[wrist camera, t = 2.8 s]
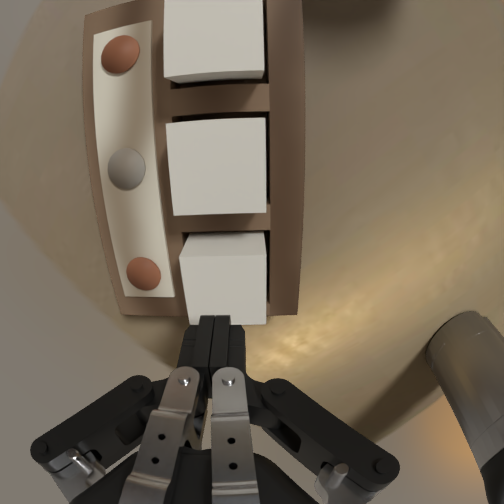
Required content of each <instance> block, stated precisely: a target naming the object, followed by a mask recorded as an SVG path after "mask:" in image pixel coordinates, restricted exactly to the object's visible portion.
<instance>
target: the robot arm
mask: <svg viewBox="0 0 504 504" xmlns="http://www.w3.org/2000/svg"><path fill="white" fill-rule="evenodd" d="M426 361H427V363H428V364H429V366H430V368H431V370H432V372H433V373H434V375H435V377H436V379H437V381H438V383H439V385H440V387H441V389H442V391H443V392H444V394H445V396H446V398H447V400H448V402H449V404H450V406H451V408H452V410H453V412H454V414H455V416H456V418H457V420H458V422H459V424H460V426H461V428H462V431H463V433H464V435H465V437H466V440H467V442H468V444H469V446H470V449H471V451H472V453H473V455H474V458H475V460H476V462H477V465H478V467H479V469H480V472H481V474H482V477H483V480H484V484H485V490H486V496H487V500H488V503H489V504H504V337H503V336H502V335H501V334H500V332H499V331H498V330H497V329H496V327H495V326H494V325H493V324H492V323H491V322H490V320H489V319H488V318H487V317H481V315H480V314H479V313H477V312H474V311H469V312H465V313H462V314H459V315H458V316H456V317H454V318H453V319H451V320H450V321H448V322H447V323H446V324H445V325H444V326H443V327H442V328H441V329H440V330H439V331H438V332H437V333H436V334H435V336H434V337H433V339H432V340H431V342H430V344H429V346H428V348H427V351H426ZM208 398H212V415H211V449H206V450H202V438H203V433H204V427H205V422H206V417H207V404H208ZM250 424H254V425H258V426H261V427H262V429H263V430H264V431H265V432H266V433H267V434H268V435H269V436H270V437H272V438H273V439H274V440H275V441H276V442H277V443H278V444H279V445H281V446H282V447H283V448H284V449H285V450H286V451H287V452H289V453H290V454H291V455H292V456H293V457H294V458H296V459H297V460H298V461H299V462H301V463H302V464H303V465H304V466H305V467H306V468H308V469H309V470H310V471H312V472H313V473H314V474H315V475H317V476H318V477H317V478H316V481H315V484H314V487H315V490H316V492H317V493H318V494H319V496H320V497H321V498H322V501H323V504H366V503H367V502H369V501H371V500H372V499H373V498H374V497H375V496H376V495H378V494H379V493H380V492H381V491H382V490H383V489H384V488H385V487H386V486H388V485H389V484H390V483H391V482H392V481H393V480H394V479H395V478H396V477H397V476H398V474H399V470H400V465H399V462H398V460H397V459H396V458H395V457H394V456H393V455H391V454H390V453H388V452H387V451H385V450H384V449H382V448H380V447H379V446H378V445H376V444H375V443H373V442H372V441H370V440H369V439H367V438H366V437H364V436H363V435H361V434H360V433H358V432H357V431H355V430H354V429H352V428H351V427H350V426H348V425H347V424H345V423H344V422H343V421H341V420H340V419H338V418H337V417H336V416H334V415H333V414H331V413H330V412H329V411H327V410H326V409H325V408H323V407H322V406H320V405H319V404H318V403H316V402H315V401H314V400H312V399H311V398H310V397H308V396H307V395H306V394H305V393H303V392H302V391H301V390H299V389H298V388H297V387H295V386H294V385H293V384H292V383H290V382H289V381H287V380H285V379H280V378H276V379H271V380H269V381H267V382H265V383H262V382H258V381H255V380H253V379H251V378H250V377H249V376H248V375H247V374H246V347H245V331H244V329H243V328H242V326H241V325H231V317H230V315H216V316H215V315H201V316H200V320H199V325H190V326H189V327H188V329H187V330H186V331H185V334H184V338H183V342H182V347H181V351H180V355H179V360H178V364H177V368H176V369H175V370H173V371H172V372H171V374H170V375H169V377H168V378H166V379H164V380H159V381H154V382H151V381H150V379H149V378H147V377H145V376H142V375H136V376H132V377H130V378H128V379H127V380H126V381H124V382H123V383H121V384H120V385H118V386H117V387H115V388H114V389H112V390H111V391H109V392H108V393H106V394H105V395H103V396H102V397H100V398H99V399H97V400H96V401H95V402H93V403H91V404H90V405H88V406H87V407H85V408H84V409H82V410H81V411H79V412H78V413H76V414H75V415H73V416H72V417H70V418H68V419H67V420H65V421H64V422H62V423H61V424H59V425H57V426H56V427H54V428H53V429H51V430H50V431H48V432H47V433H45V434H43V435H42V436H40V437H39V438H37V439H36V440H35V441H34V442H33V443H32V445H31V449H30V451H31V456H32V458H33V459H34V460H35V461H36V462H38V464H40V465H41V466H42V467H43V468H44V469H45V470H46V471H47V472H48V473H49V474H51V476H52V478H53V479H54V481H55V482H56V484H57V486H58V487H59V489H60V490H61V492H62V493H63V494H64V496H65V497H66V499H67V500H68V502H69V504H319V503H318V502H317V501H315V500H314V499H313V498H312V497H311V496H310V495H308V494H307V493H306V492H305V491H304V490H303V489H302V488H301V487H299V486H298V485H297V484H296V483H295V482H294V481H293V480H292V479H290V478H289V476H287V475H286V474H285V473H284V472H283V471H282V470H281V469H280V468H279V467H278V466H277V465H276V464H275V463H273V462H272V461H271V460H269V459H268V458H265V457H264V456H261V455H259V454H256V453H253V446H252V438H251V429H250ZM140 444H141V445H140ZM138 445H140V448H139V451H137V452H135V453H134V454H132V455H131V456H129V457H128V458H127V459H125V460H124V461H123V462H122V463H120V464H119V465H118V466H117V467H115V468H114V469H113V470H111V471H110V472H109V473H107V474H106V472H105V469H107V468H108V467H109V466H111V465H112V464H114V463H115V462H117V461H118V460H119V459H121V458H122V457H123V456H125V455H126V454H128V453H129V452H130V451H132V450H133V449H134V448H135V447H137V446H138ZM105 474H106V475H105Z"/></svg>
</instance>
